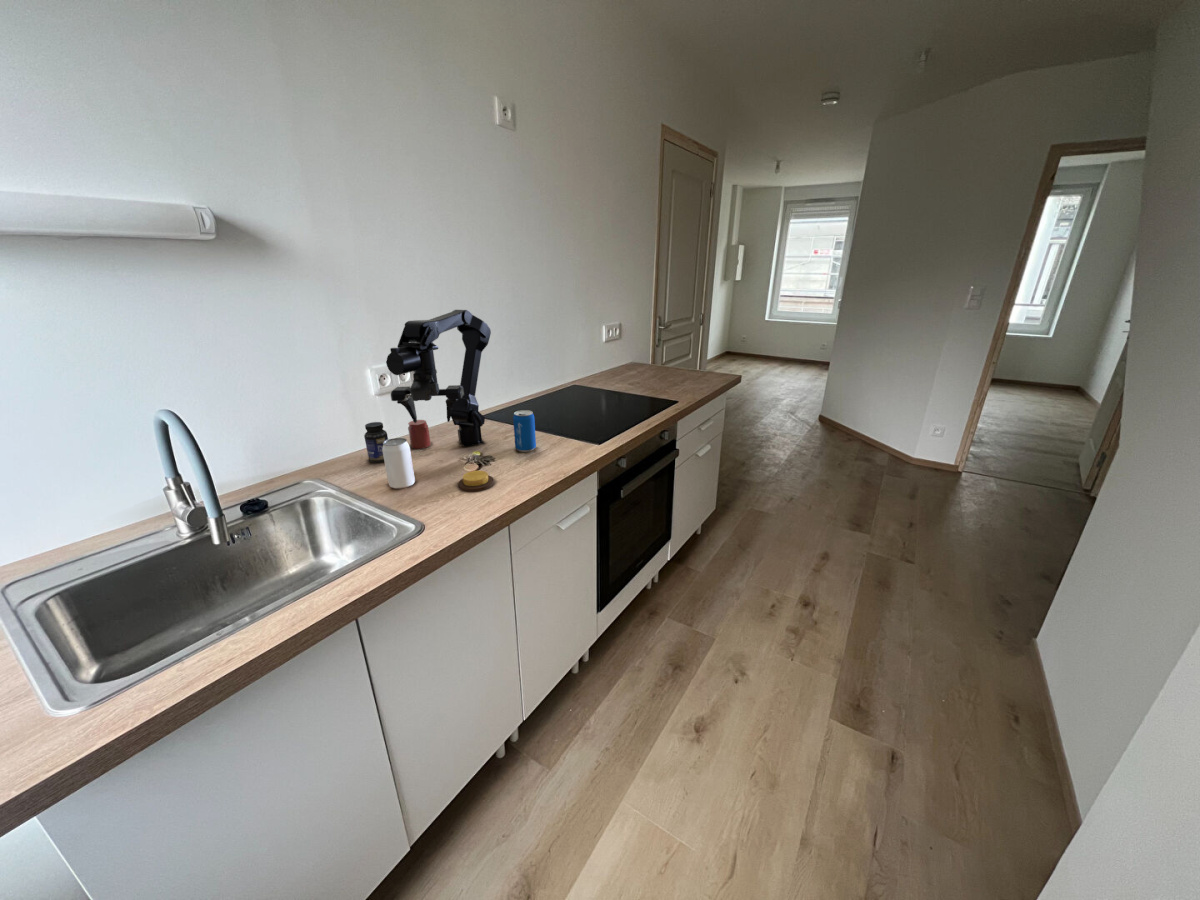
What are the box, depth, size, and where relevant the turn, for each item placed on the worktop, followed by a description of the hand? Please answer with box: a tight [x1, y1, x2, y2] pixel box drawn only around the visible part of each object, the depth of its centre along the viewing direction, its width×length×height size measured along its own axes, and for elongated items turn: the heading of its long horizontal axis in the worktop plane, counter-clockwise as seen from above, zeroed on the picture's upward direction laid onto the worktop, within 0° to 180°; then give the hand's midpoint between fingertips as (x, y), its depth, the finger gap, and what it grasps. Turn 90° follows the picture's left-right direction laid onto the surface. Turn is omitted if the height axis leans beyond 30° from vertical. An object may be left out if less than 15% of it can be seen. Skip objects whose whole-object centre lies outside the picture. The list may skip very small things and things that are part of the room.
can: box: [382, 437, 416, 490], centre depth 117 cm, size 6×6×12 cm
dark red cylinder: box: [407, 419, 432, 450], centre depth 145 cm, size 6×6×8 cm
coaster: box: [457, 474, 495, 493], centre depth 119 cm, size 9×9×1 cm
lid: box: [462, 470, 489, 486], centre depth 119 cm, size 6×6×2 cm
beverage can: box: [512, 409, 537, 453], centre depth 141 cm, size 6×6×12 cm
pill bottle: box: [363, 421, 389, 463], centre depth 133 cm, size 6×6×11 cm
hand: (432, 422), depth 130 cm, fingers open, 9 cm apart
